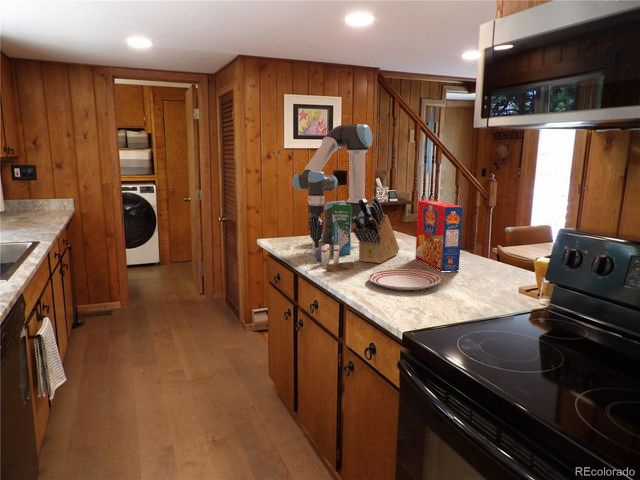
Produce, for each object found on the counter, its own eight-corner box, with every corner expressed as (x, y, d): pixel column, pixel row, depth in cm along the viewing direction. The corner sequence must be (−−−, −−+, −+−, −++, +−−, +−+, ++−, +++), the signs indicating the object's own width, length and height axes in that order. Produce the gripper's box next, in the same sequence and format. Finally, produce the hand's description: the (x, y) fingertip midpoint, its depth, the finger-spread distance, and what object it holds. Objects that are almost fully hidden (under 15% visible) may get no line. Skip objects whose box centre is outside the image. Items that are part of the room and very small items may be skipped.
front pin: (327, 262, 215) (327, 244, 214) (330, 263, 213) (330, 245, 212) (322, 262, 214) (322, 244, 213) (325, 264, 212) (325, 245, 211)
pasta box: (415, 258, 226) (418, 200, 221) (430, 258, 227) (433, 200, 222) (441, 272, 199) (445, 207, 194) (458, 272, 200) (462, 206, 195)
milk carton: (350, 251, 242) (351, 202, 237) (349, 254, 233) (351, 204, 228) (333, 250, 243) (333, 202, 238) (331, 254, 234) (332, 204, 229)
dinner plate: (366, 293, 169) (366, 284, 168) (368, 274, 196) (369, 266, 195) (444, 296, 165) (445, 287, 165) (436, 277, 192) (436, 269, 191)
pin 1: (325, 264, 211) (325, 246, 209) (327, 266, 208) (327, 247, 207) (320, 265, 210) (320, 246, 208) (322, 266, 207) (322, 247, 206)
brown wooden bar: (351, 268, 205) (351, 261, 204) (353, 269, 203) (353, 262, 202) (326, 270, 200) (326, 263, 199) (328, 271, 198) (328, 264, 197)
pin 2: (337, 263, 213) (337, 245, 212) (339, 264, 211) (340, 246, 209) (332, 264, 212) (332, 245, 211) (334, 265, 210) (335, 246, 208)
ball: (330, 249, 216) (329, 262, 216) (325, 247, 221) (324, 259, 222) (318, 249, 213) (317, 262, 214) (313, 247, 219) (313, 259, 220)
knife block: (349, 265, 210) (350, 196, 204) (378, 252, 240) (380, 191, 235) (372, 268, 204) (374, 197, 199) (399, 254, 235) (402, 192, 229)
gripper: (303, 203, 225) (303, 251, 229) (314, 206, 213) (313, 257, 217) (317, 203, 228) (317, 250, 232) (329, 205, 216) (328, 255, 220)
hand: (315, 253), depth 224 cm, fingers closed
